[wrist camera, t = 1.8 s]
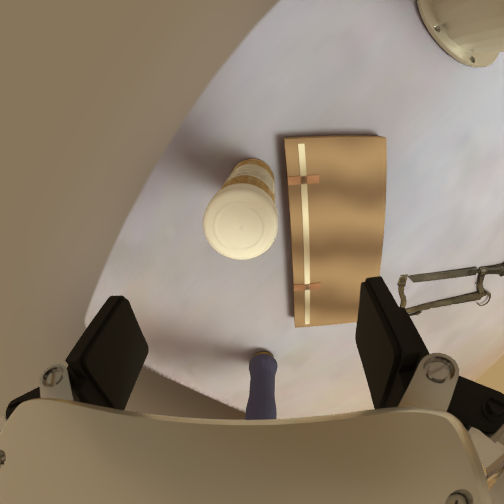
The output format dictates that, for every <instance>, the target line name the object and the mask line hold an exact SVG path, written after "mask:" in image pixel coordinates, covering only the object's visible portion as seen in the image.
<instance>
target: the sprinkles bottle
mask: <svg viewBox="0 0 504 504" xmlns="http://www.w3.org/2000/svg"><path fill="white" fill-rule="evenodd" d="M274 199H275V189H274V175H273V172H272V170H271V169H270V167H269V166H268V165H267V164H266V163H264V162H263V161H261V160H257V159H247V160H244V161H241V162H240V163H238V164H237V165H236V166H235V167H234V169H233V171H232V173H231V174H230V176H229V177H228V178H227V180H226V182H225V183H224V184H223V186H222V188H221V189H220V191H218V192H217V193H216V194H215V195H214V197H213V198H212V200H211V201H210V203H209V204H208V206H207V208H206V211H205V214H204V218H203V229H204V233H205V236H206V238H207V240H208V242H209V243H210V245H211V246H212V247H213V248H214V249H215V250H216V251H218V252H219V253H221V254H222V255H224V256H226V257H229V258H233V259H242V260H243V259H250V258H254V257H256V256H259V255H260V254H262V253H264V252H265V251H266V250H267V249H268V248H269V247H270V246H271V245H272V243H273V241H274V240H275V237H276V234H277V230H278V215H277V209H276V206H275V202H274Z"/></svg>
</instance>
